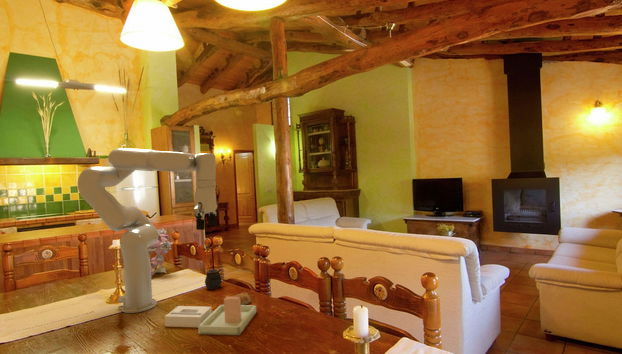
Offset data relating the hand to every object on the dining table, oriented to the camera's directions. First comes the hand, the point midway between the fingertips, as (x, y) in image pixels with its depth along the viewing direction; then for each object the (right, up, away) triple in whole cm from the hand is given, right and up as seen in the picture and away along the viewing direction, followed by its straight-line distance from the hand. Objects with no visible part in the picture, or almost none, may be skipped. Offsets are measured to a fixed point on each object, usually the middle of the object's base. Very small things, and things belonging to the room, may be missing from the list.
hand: (206, 227), depth 137 cm
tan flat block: (+14, -30, -17) cm, 37 cm away
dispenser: (-2, -31, -14) cm, 34 cm away
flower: (-41, -32, +42) cm, 66 cm away
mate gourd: (-3, -31, +20) cm, 37 cm away
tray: (+13, -31, -17) cm, 37 cm away
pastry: (+13, -31, 0) cm, 33 cm away
